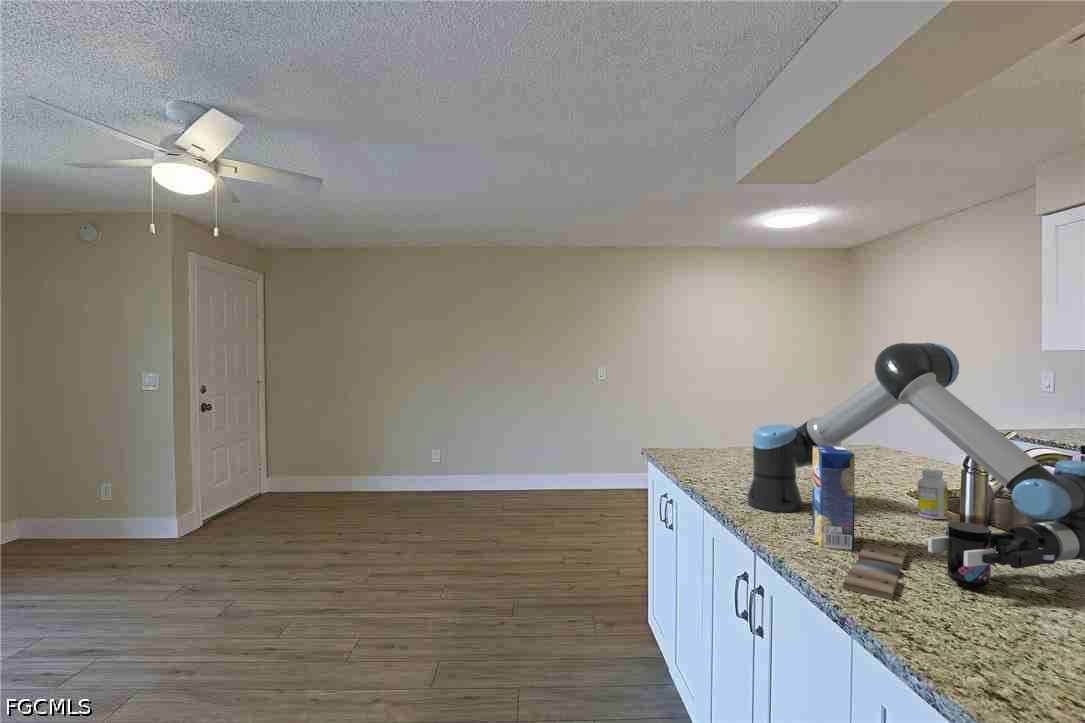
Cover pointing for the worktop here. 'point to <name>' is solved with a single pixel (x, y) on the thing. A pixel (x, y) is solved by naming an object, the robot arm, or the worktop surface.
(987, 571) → the supplement container
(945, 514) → the supplement bottle
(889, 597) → the hinge leaves
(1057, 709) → the worktop surface
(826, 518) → the beverage box
